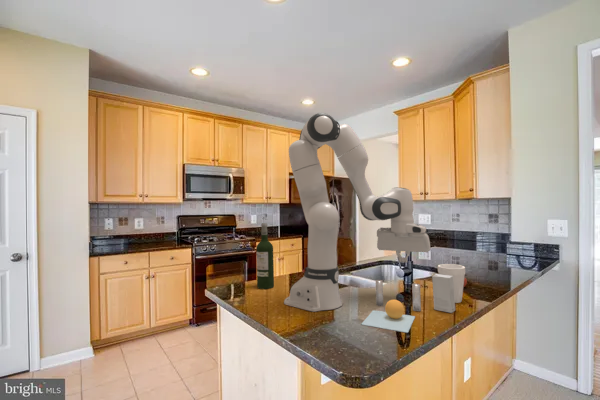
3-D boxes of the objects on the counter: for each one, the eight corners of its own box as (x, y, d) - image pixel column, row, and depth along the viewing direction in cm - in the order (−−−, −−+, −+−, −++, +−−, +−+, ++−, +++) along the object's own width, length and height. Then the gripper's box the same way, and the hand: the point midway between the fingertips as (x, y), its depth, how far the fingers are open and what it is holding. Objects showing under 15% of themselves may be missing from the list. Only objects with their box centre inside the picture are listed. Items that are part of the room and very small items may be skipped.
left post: (375, 305, 112) (374, 281, 112) (377, 303, 115) (376, 279, 115) (382, 306, 111) (381, 281, 111) (384, 304, 113) (383, 280, 114)
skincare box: (455, 310, 105) (454, 275, 106) (451, 313, 102) (450, 277, 102) (437, 306, 110) (436, 273, 110) (432, 309, 106) (431, 275, 107)
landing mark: (361, 324, 95) (361, 324, 95) (373, 310, 107) (373, 310, 107) (407, 332, 88) (407, 332, 88) (415, 316, 100) (415, 316, 100)
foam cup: (469, 304, 111) (468, 269, 111) (442, 303, 112) (441, 268, 113) (461, 296, 120) (460, 264, 120) (436, 296, 122) (435, 263, 122)
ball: (386, 302, 105) (385, 319, 101) (385, 295, 100) (383, 313, 97) (405, 304, 102) (404, 322, 99) (404, 298, 98) (402, 316, 94)
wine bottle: (254, 288, 140) (252, 223, 140) (261, 284, 147) (260, 222, 148) (269, 289, 137) (268, 223, 138) (276, 285, 144) (275, 222, 145)
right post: (412, 310, 106) (411, 284, 106) (413, 308, 108) (412, 283, 108) (420, 311, 105) (419, 285, 105) (421, 309, 107) (420, 283, 107)
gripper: (374, 228, 124) (375, 261, 124) (428, 228, 114) (429, 265, 114) (378, 226, 129) (379, 259, 129) (430, 227, 119) (431, 262, 119)
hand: (403, 262), depth 121 cm, fingers closed
